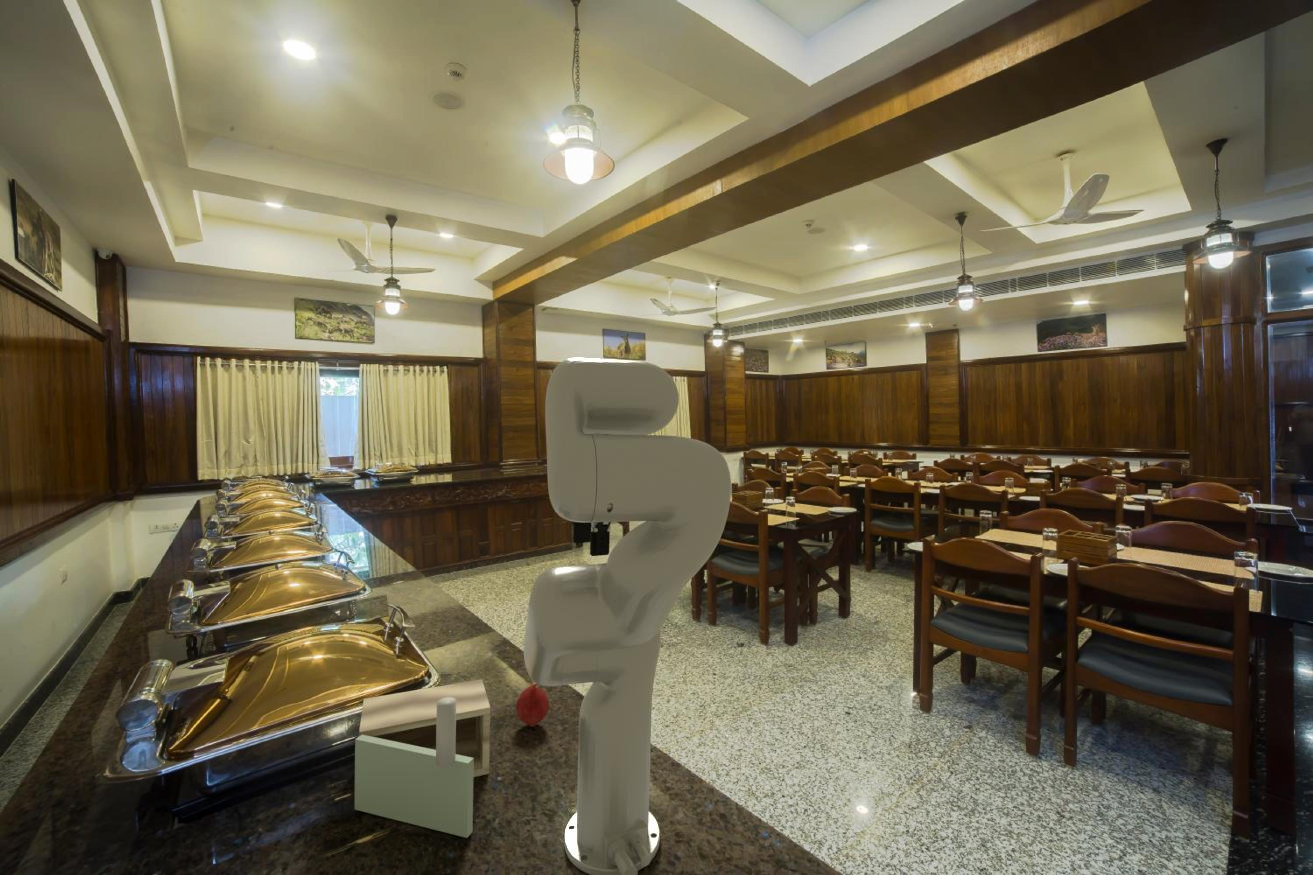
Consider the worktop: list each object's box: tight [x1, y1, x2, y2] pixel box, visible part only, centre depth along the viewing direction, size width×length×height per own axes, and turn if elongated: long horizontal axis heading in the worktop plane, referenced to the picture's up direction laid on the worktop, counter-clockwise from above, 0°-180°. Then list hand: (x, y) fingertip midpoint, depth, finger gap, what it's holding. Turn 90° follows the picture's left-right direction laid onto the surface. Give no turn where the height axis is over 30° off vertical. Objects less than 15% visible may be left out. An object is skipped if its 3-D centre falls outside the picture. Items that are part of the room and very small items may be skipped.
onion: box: [515, 682, 550, 728], centre depth 99 cm, size 6×6×8 cm
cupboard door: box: [354, 697, 474, 839], centre depth 74 cm, size 3×18×18 cm, turn 75°
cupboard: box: [358, 678, 491, 778], centre depth 86 cm, size 10×18×10 cm, turn 115°
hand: (590, 548), depth 95 cm, fingers open, 9 cm apart
